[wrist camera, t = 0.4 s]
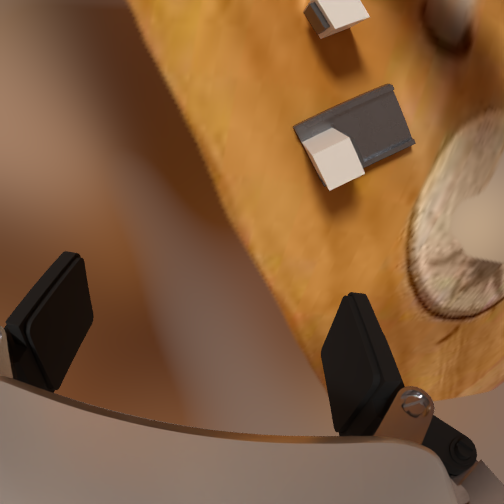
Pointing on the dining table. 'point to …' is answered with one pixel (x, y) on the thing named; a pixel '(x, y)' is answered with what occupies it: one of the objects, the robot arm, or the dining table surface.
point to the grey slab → (364, 124)
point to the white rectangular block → (334, 15)
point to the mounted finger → (335, 157)
